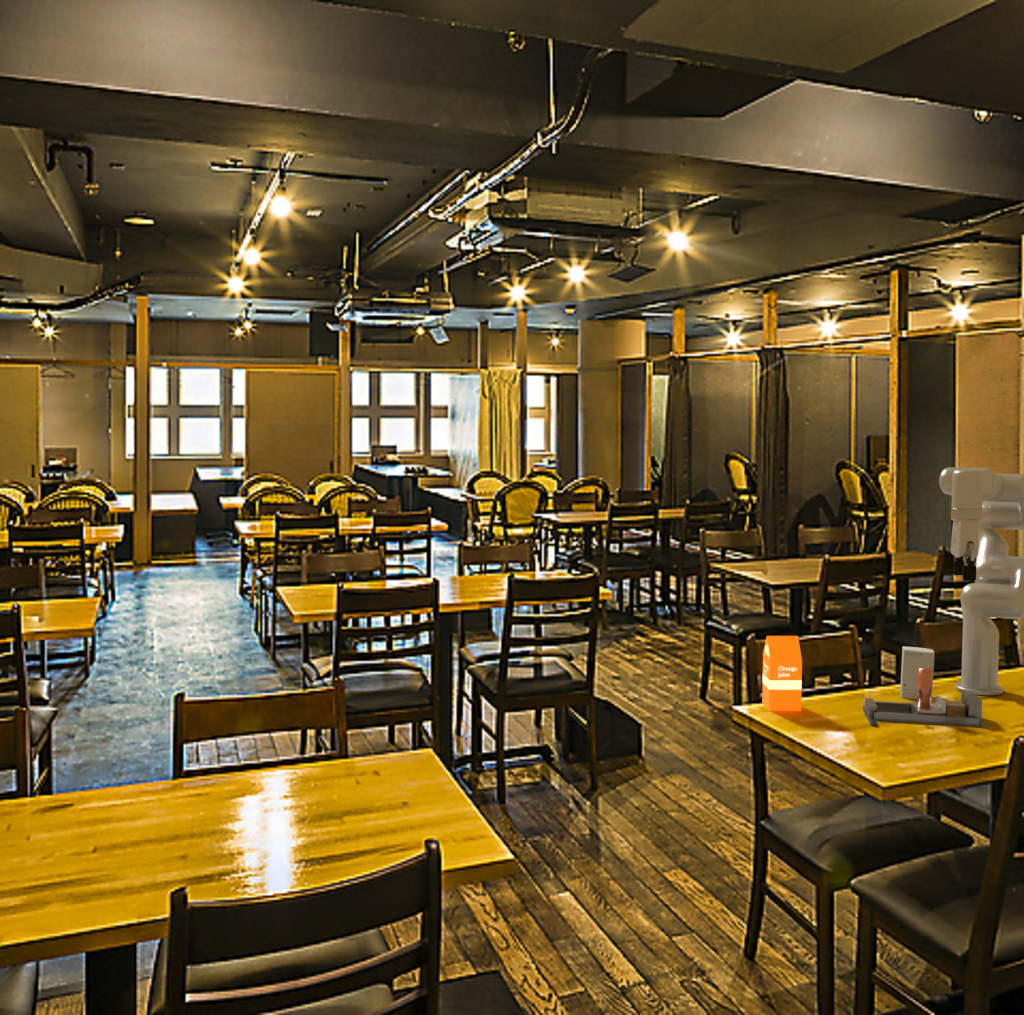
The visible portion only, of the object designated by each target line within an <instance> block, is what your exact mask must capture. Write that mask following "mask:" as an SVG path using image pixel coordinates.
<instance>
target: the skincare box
mask: <svg viewBox="0 0 1024 1015" xmlns="http://www.w3.org/2000/svg"><path fill="white" fill-rule="evenodd" d="M901 648H902V650H901V651H902V654H901V673H900V686H899V687H900V690H899V691H900V692H899V696H900V698H901V699H913V700H914V699H915V700H917V698H918V668H920V667H926V668H931V669H932V688H933V686H934V685H933V684H934V669H935V651H934V649H932V648H926V647H925V648H924V647H918V646H902V647H901Z"/></svg>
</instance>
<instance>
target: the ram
mask: <svg viewBox="0 0 1024 1015" xmlns="http://www.w3.org/2000/svg"><path fill="white" fill-rule="evenodd" d="M932 699H933V687H932V669H931V668H926V667H920V668H918V698H917V699H916V701H911V702H910V703H911V711H912V713H913V714H922V715H939V716H946V702H945V701H944V699H943V698H942V696H941V695H936V696H935V702H932V701H933V700H932Z"/></svg>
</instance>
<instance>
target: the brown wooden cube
mask: <svg viewBox="0 0 1024 1015" xmlns="http://www.w3.org/2000/svg"><path fill="white" fill-rule="evenodd" d="M943 700H944V699H943ZM944 701H945V702H946V716H957V717H965V710H966V706H965V705H964V704H963V703H962V701H961V700H960V701H959V700H948V699H947V700H944Z"/></svg>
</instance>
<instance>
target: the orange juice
mask: <svg viewBox="0 0 1024 1015" xmlns="http://www.w3.org/2000/svg"><path fill="white" fill-rule="evenodd" d="M801 652H802V651H801V647H800V640H799V635H766V638H765V643H764V648H763V651H762V700H761V701H762V702H761V703H762V704H763V706H764V707H765V709H767V710H768V712H802V688H803V686H802V684H803V681H802V679H803V678H802V676H803V675H802V672H803V657H802V653H801Z"/></svg>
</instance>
